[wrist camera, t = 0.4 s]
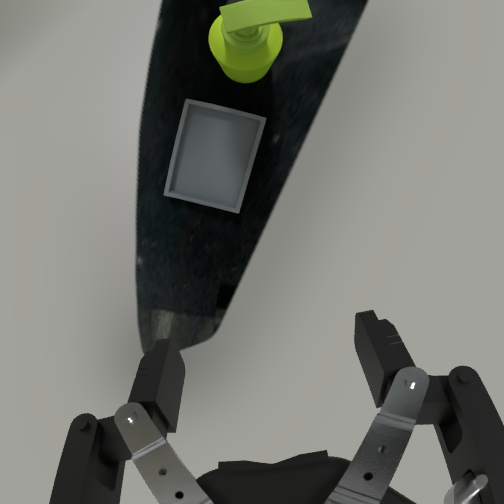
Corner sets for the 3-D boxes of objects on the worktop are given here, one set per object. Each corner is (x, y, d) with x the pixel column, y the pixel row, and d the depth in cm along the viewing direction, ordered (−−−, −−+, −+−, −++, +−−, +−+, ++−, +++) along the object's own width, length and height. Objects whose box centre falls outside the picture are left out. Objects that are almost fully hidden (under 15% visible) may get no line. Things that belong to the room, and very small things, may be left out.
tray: (188, 98, 35) (185, 98, 33) (265, 117, 36) (266, 118, 34) (167, 190, 40) (163, 195, 38) (239, 208, 41) (238, 213, 39)
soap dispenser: (284, 75, 34) (322, 44, 16) (227, 88, 35) (209, 67, 16) (272, 32, 31) (296, -35, 13) (215, 45, 32) (185, -12, 14)
